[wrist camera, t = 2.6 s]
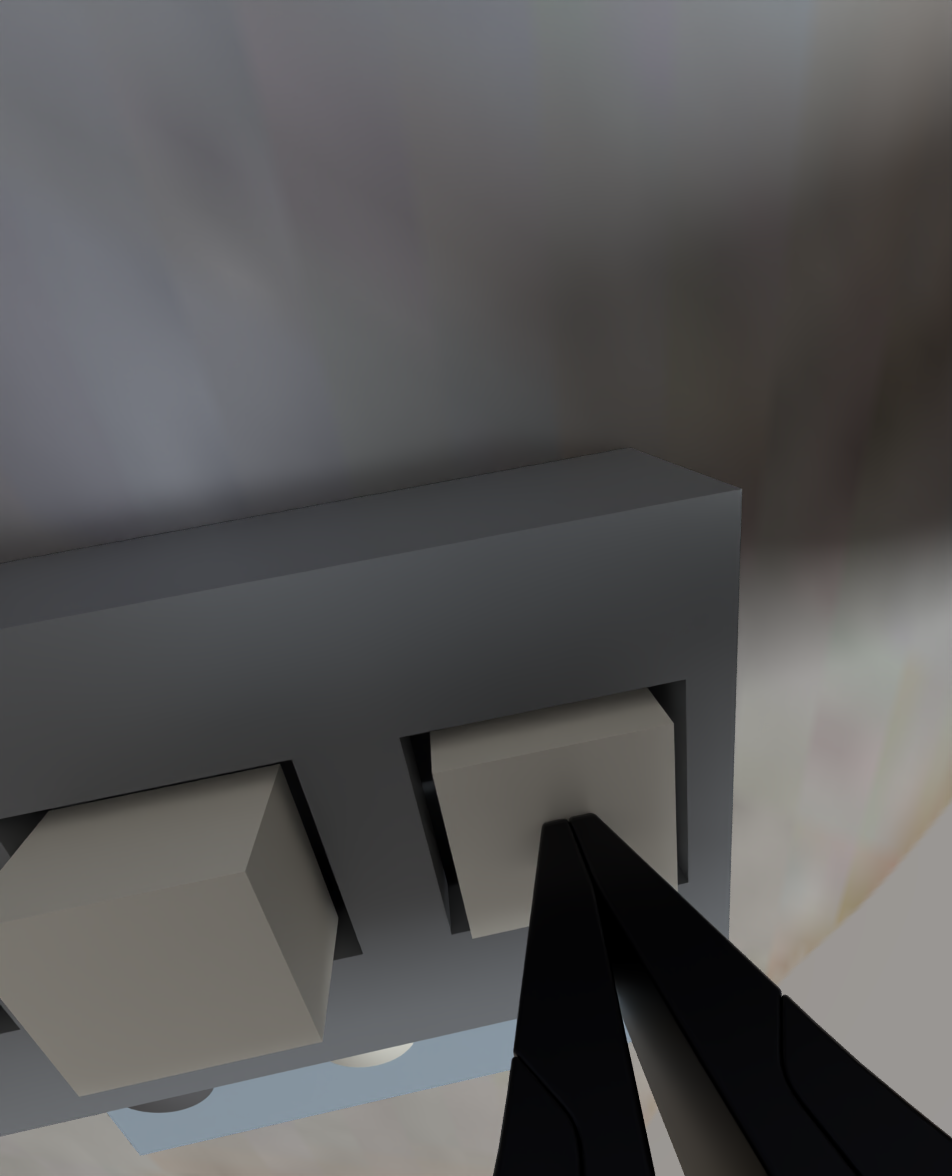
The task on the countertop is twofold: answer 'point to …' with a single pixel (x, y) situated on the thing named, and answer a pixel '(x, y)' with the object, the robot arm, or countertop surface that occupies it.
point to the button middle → (167, 931)
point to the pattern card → (318, 1088)
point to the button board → (372, 706)
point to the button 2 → (552, 793)
